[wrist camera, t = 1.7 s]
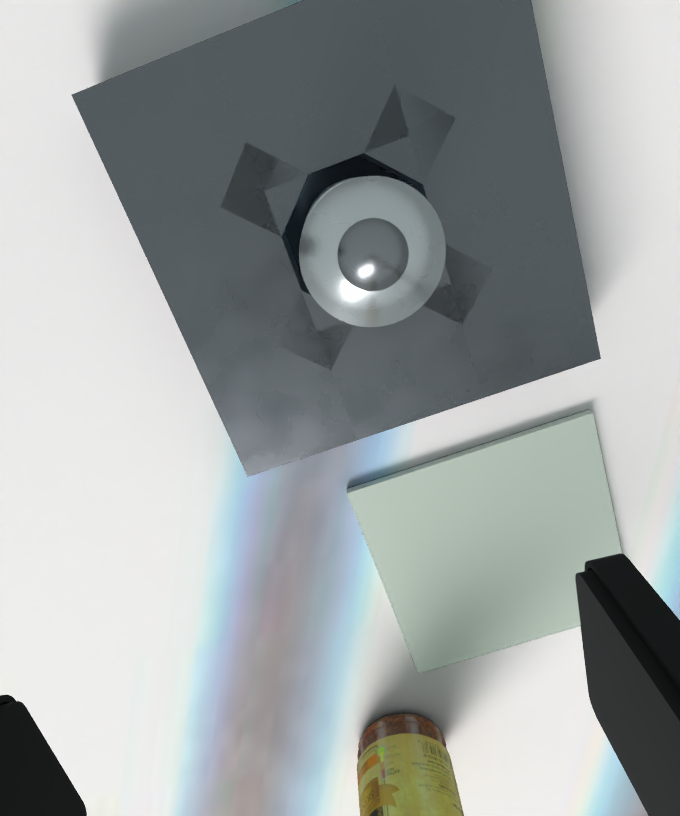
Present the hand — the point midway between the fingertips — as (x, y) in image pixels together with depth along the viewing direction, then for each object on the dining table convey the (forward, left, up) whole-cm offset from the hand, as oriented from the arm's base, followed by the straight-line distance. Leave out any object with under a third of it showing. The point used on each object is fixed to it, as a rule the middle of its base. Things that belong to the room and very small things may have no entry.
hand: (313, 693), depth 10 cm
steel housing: (-4, -5, -22) cm, 23 cm away
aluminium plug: (-4, -5, -22) cm, 23 cm away
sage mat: (-6, +15, -22) cm, 28 cm away
